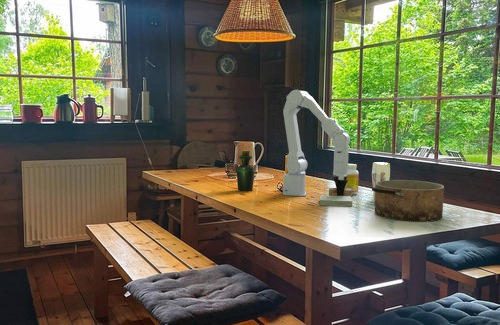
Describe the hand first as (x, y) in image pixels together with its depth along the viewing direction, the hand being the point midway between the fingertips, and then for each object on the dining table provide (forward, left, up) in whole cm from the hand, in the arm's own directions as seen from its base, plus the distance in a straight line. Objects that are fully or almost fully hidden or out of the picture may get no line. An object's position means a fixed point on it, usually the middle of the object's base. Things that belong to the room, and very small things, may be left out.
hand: (339, 195), depth 195 cm
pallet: (0, 0, -2) cm, 2 cm away
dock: (-2, -11, -1) cm, 11 cm away
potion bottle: (-41, +11, -2) cm, 42 cm away
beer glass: (+16, 0, -2) cm, 16 cm away
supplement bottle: (+5, +13, -2) cm, 14 cm away
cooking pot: (+22, -27, -2) cm, 35 cm away
